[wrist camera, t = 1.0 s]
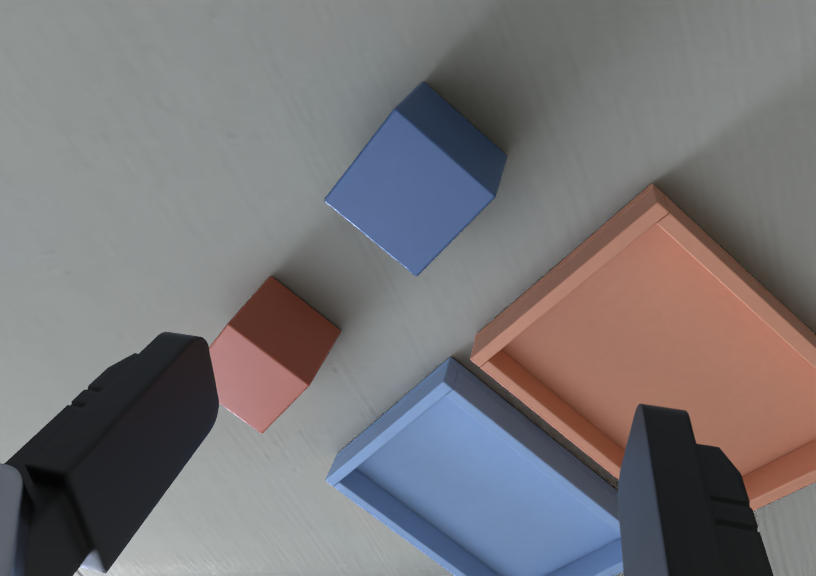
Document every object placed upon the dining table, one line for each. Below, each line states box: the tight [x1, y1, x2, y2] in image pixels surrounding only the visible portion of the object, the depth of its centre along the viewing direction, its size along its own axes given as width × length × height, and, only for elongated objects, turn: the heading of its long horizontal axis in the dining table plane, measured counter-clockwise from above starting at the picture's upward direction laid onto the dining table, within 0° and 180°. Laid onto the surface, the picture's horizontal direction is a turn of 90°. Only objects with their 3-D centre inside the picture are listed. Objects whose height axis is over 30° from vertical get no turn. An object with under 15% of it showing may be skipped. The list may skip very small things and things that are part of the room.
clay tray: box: [470, 184, 816, 511], centre depth 26 cm, size 14×10×2 cm
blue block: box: [324, 82, 507, 276], centre depth 23 cm, size 4×4×4 cm
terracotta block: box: [209, 276, 341, 433], centre depth 29 cm, size 4×4×4 cm
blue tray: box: [325, 357, 623, 576], centre depth 32 cm, size 14×10×2 cm
